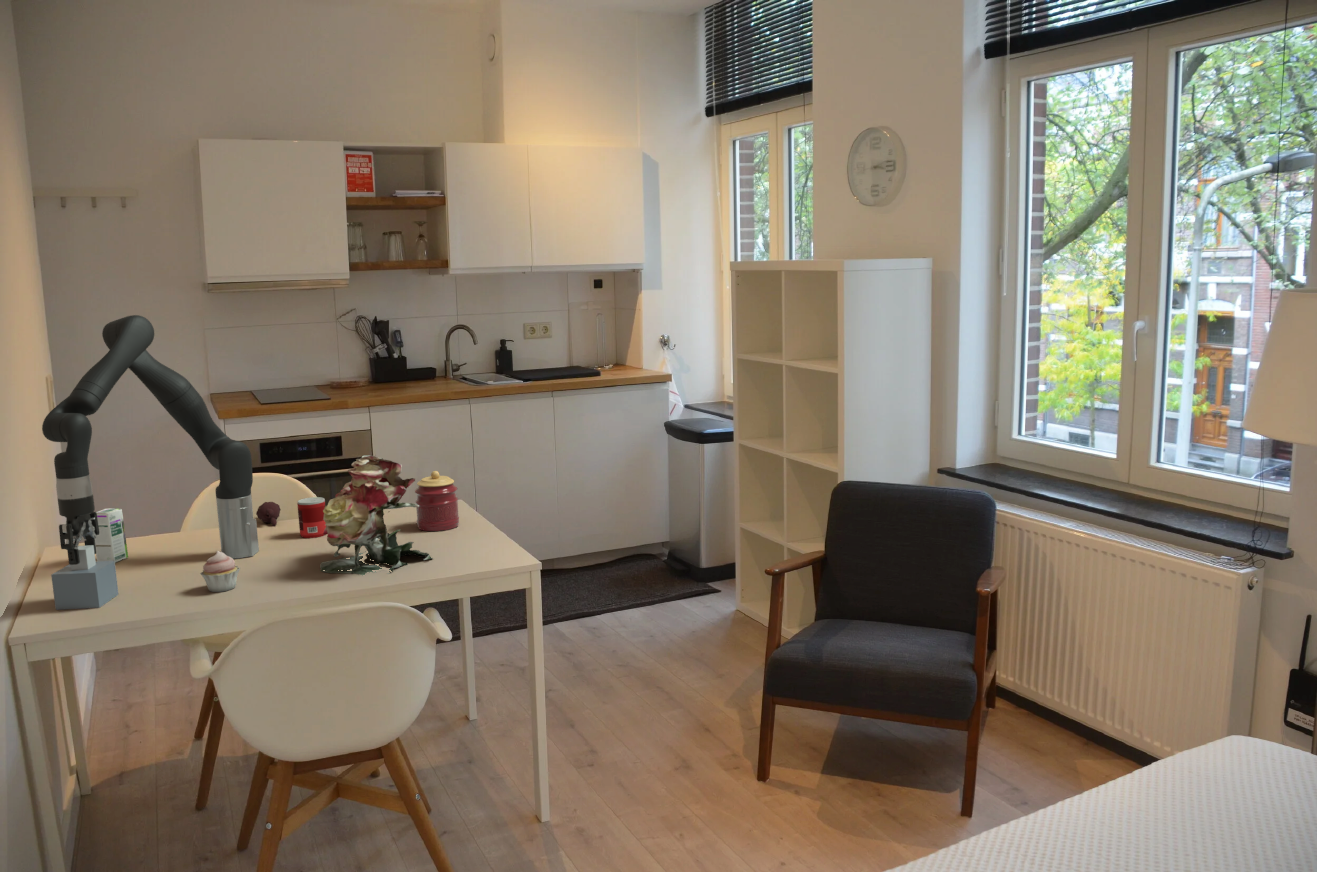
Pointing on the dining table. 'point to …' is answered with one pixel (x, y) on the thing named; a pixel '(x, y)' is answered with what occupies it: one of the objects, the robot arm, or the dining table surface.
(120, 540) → the syrup box
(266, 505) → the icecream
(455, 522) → the canister
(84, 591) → the cube with small cube
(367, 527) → the rose bouquet
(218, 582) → the cupcake
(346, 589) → the dining table surface
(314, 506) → the canned food
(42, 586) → the dining table surface
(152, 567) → the dining table surface
